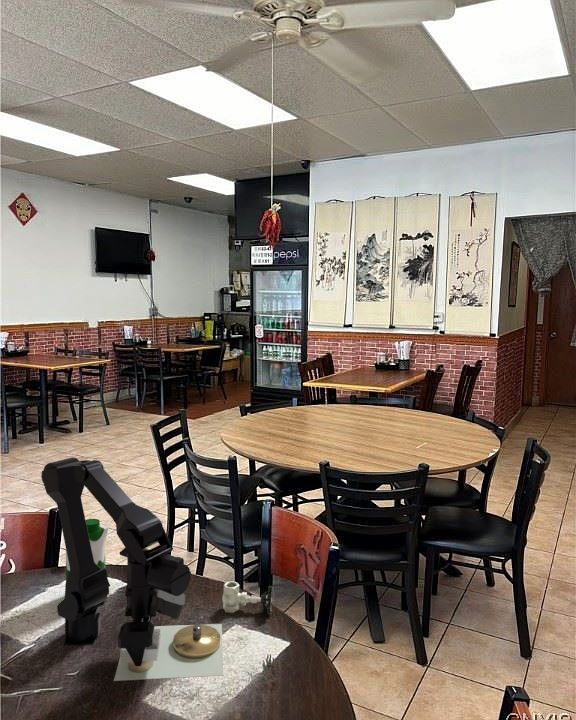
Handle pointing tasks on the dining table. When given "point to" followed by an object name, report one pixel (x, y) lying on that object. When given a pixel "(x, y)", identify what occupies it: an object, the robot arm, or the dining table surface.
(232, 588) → the valve
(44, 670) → the dining table surface
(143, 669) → the stand
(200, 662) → the mat
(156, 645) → the square ring
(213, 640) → the bell
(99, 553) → the milk carton
